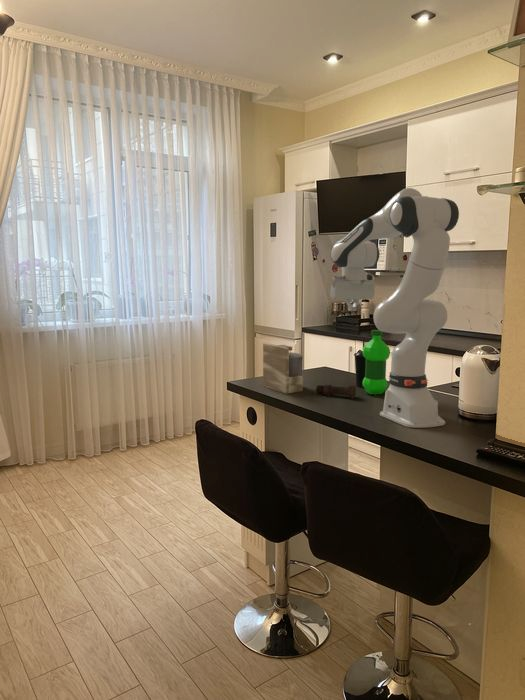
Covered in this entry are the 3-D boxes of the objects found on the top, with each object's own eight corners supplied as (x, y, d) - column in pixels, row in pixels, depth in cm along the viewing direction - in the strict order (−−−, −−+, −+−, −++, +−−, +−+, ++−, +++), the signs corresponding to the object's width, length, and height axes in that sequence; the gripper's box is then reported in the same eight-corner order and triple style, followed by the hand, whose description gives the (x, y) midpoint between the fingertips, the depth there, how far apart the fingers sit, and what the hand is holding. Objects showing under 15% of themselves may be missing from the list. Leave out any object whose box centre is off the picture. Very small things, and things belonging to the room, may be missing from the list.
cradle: (280, 383, 228) (280, 341, 225) (303, 391, 215) (304, 346, 212) (263, 385, 224) (263, 343, 221) (285, 393, 210) (285, 348, 207)
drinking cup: (351, 387, 221) (353, 339, 217) (354, 383, 228) (355, 337, 225) (370, 389, 219) (372, 340, 215) (372, 384, 226) (374, 337, 222)
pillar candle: (274, 386, 224) (274, 350, 221) (294, 383, 228) (294, 348, 226) (286, 391, 215) (286, 354, 213) (306, 388, 220) (307, 352, 217)
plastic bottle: (363, 396, 207) (365, 332, 203) (360, 389, 217) (362, 328, 213) (389, 396, 206) (392, 332, 202) (385, 390, 217) (387, 328, 212)
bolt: (317, 398, 212) (354, 401, 206) (313, 394, 208) (351, 397, 201) (319, 383, 214) (356, 386, 207) (316, 380, 210) (353, 382, 203)
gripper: (337, 275, 206) (336, 311, 208) (377, 276, 217) (376, 310, 218) (327, 275, 212) (326, 310, 213) (366, 276, 222) (365, 310, 224)
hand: (352, 310), depth 216 cm, fingers closed
